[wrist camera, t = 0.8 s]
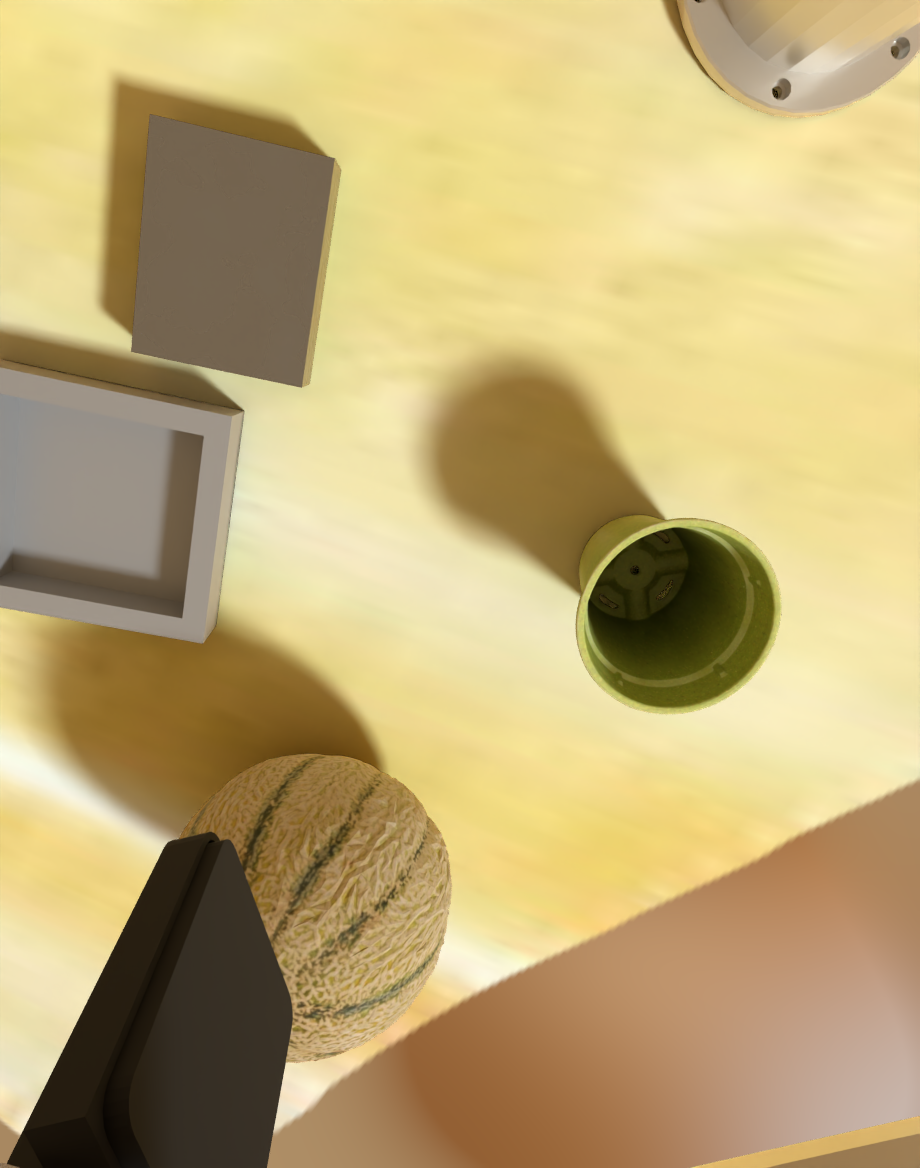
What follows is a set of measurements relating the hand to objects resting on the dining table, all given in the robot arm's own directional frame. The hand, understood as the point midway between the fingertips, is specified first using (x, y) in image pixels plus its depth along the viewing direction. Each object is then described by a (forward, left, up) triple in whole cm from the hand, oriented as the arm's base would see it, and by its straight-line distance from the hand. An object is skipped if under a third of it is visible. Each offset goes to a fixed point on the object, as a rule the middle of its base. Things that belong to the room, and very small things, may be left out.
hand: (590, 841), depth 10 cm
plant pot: (+4, +10, -33) cm, 35 cm away
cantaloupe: (+23, -4, -33) cm, 40 cm away
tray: (+6, -18, -32) cm, 37 cm away
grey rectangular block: (-7, -13, -33) cm, 36 cm away
